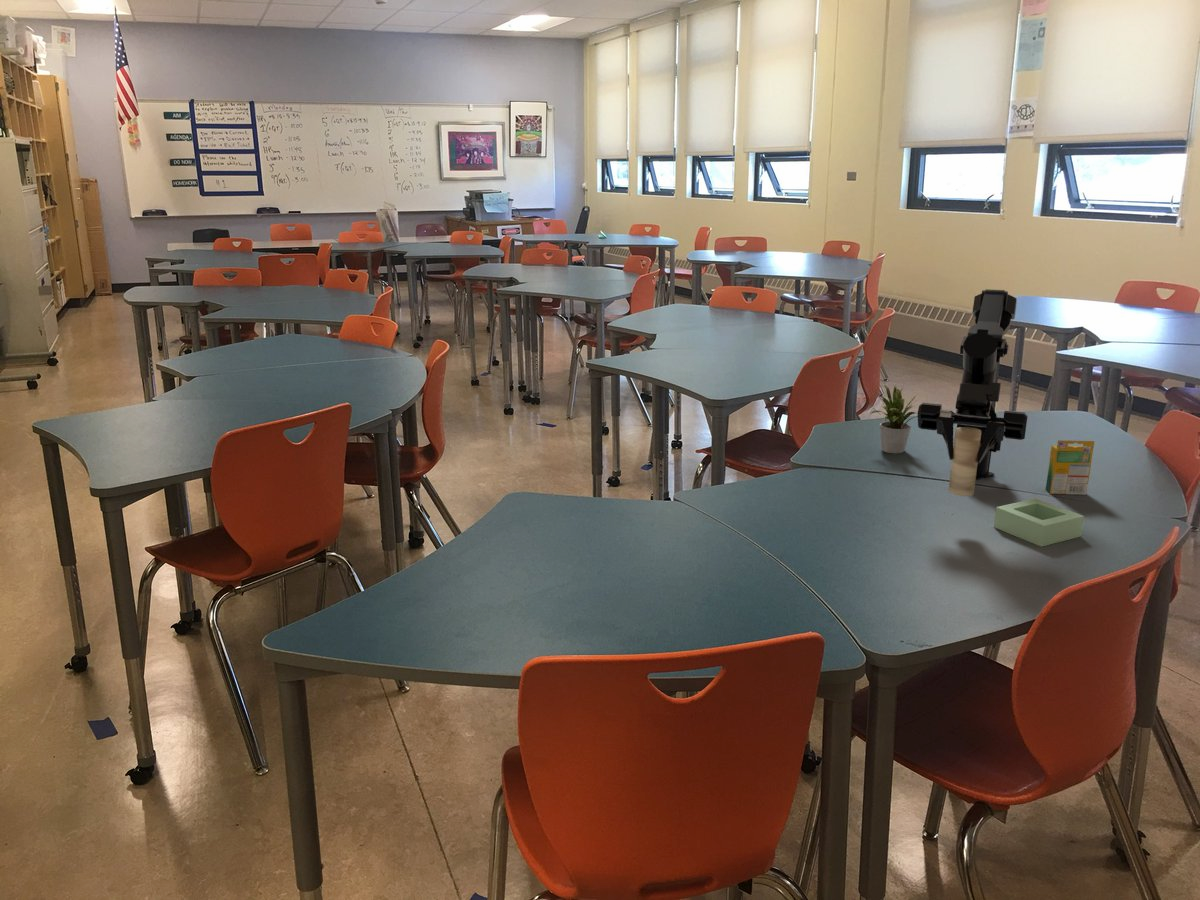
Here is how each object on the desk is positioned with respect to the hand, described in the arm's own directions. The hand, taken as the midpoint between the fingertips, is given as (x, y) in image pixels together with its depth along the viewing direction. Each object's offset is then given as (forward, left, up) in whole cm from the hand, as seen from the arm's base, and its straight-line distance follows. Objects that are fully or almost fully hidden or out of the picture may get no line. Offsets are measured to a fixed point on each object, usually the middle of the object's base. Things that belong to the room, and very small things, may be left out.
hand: (964, 460), depth 165 cm
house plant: (-25, -44, -14) cm, 53 cm away
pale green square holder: (-12, +8, -13) cm, 20 cm away
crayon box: (-36, -4, -14) cm, 39 cm away
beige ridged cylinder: (-1, -1, -7) cm, 7 cm away
